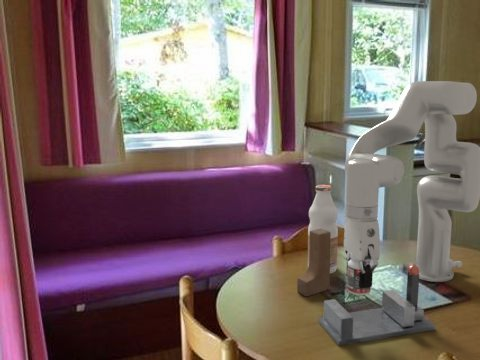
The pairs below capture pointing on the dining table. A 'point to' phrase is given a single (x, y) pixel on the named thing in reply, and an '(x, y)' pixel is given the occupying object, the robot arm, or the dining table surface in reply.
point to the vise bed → (365, 324)
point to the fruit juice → (325, 220)
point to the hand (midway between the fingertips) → (358, 281)
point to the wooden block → (316, 264)
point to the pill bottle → (355, 276)
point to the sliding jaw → (404, 301)
